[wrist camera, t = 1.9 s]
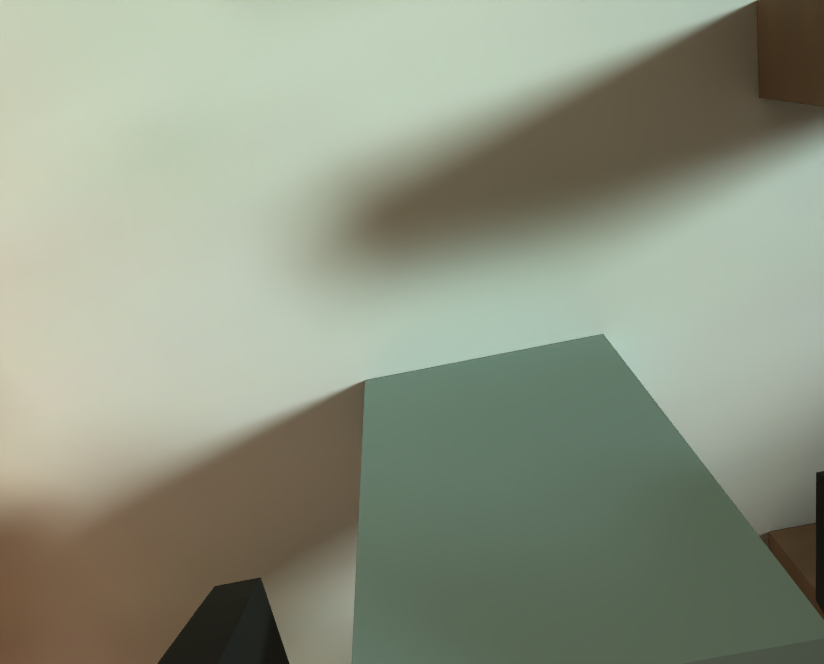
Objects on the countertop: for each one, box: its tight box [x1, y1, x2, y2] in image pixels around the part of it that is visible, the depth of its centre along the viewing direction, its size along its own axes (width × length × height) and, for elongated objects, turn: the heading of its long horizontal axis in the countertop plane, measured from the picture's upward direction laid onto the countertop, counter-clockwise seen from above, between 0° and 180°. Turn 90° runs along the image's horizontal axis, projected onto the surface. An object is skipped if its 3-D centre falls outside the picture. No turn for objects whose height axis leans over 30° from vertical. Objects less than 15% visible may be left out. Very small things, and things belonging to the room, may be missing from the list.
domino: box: [352, 334, 824, 664], centre depth 11 cm, size 2×5×8 cm, turn 101°
